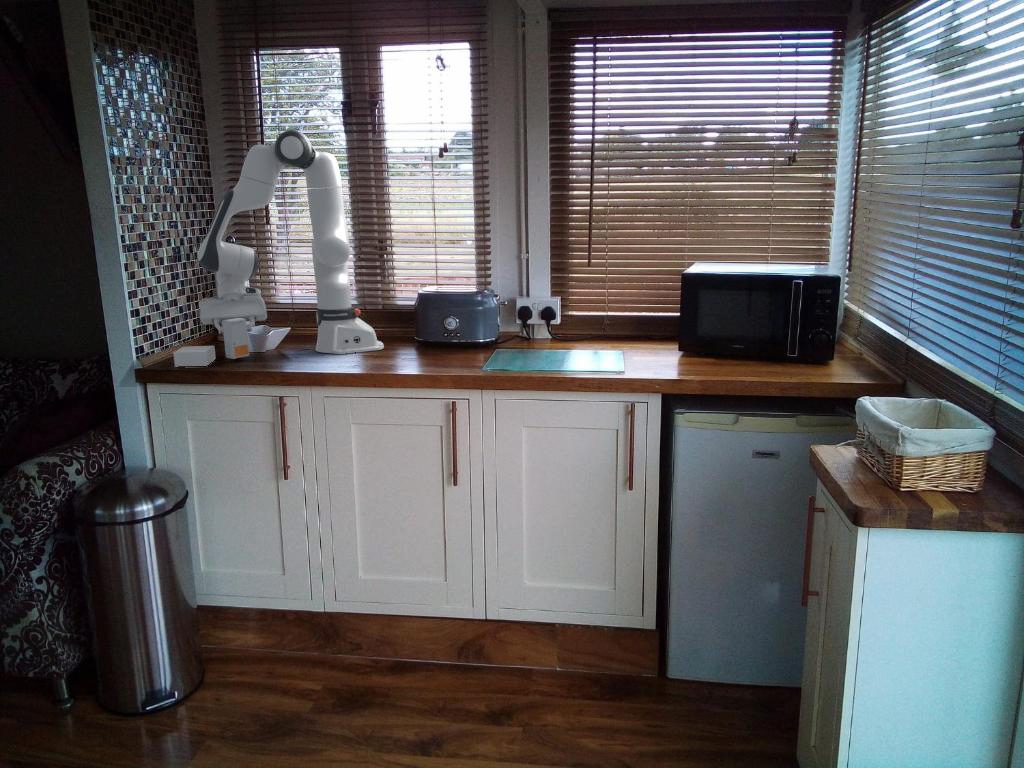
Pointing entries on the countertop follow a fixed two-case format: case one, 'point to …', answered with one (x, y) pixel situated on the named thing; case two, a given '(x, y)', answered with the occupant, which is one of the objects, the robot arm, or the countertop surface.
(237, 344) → the skincare box
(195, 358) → the grey block
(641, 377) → the countertop surface
